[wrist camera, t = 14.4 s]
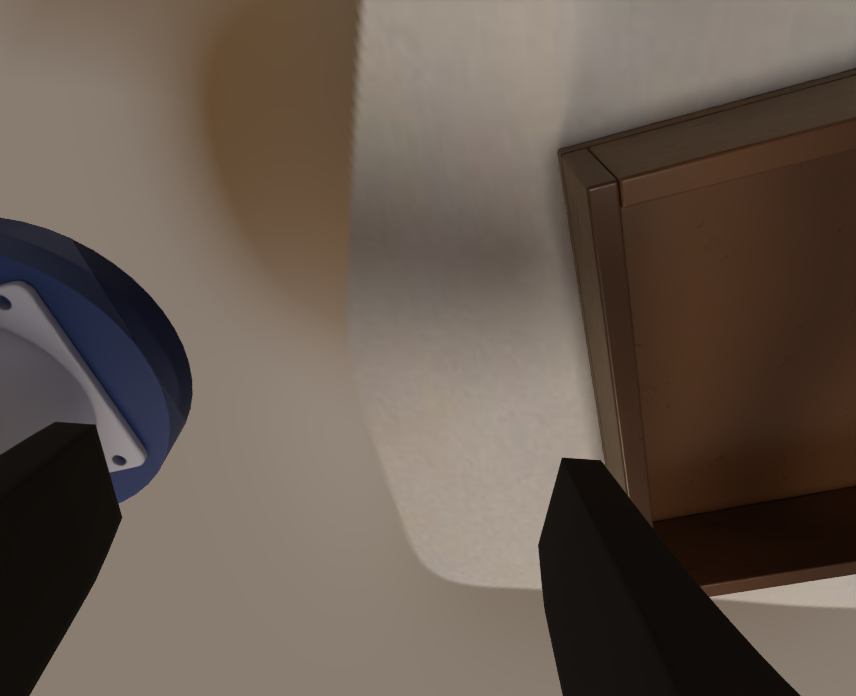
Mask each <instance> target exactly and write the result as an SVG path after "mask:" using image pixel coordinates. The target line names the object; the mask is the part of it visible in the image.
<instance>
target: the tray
mask: <svg viewBox="0 0 856 696" xmlns="http://www.w3.org/2000/svg"><path fill="white" fill-rule="evenodd" d="M558 158H559V164H560V171H561V177H562V184H563V190H564V197H565V204H566V210H567V217H568V223H569V230H570V236H571V243H572V249H573V256H574V262H575V269H576V275H577V282H578V289H579V295H580V302H581V308H582V315H583V321H584V328H585V334H586V341H587V347H588V354H589V360H590V367H591V374H592V380H593V387H594V393H595V400H596V406H597V413H598V419H599V426H600V432H601V439H602V445H603V452H604V459H605V465H606V468H607V469H608V470H609V472H610V473H611V474H612V476H613V477H614V478H615V479H616V481H617V482H618V483H619V485H620V486H621V487H622V489H623V490H624V491H625V493H626V494H627V495H628V497H629V498H630V499H631V500H632V502H633V503H634V504H635V506H636V507H637V508H638V510H639V511H640V512H641V514H642V515H643V516H644V517H645V519H646V520H647V521H648V523H649V524H650V525H651V526H652V528H653V529H654V530H655V532H656V533H657V534H658V535H659V537H660V538H661V539H662V541H663V542H664V543H665V544H666V546H667V547H668V548H669V549H670V551H671V552H672V553H673V554H674V555H675V557H676V558H677V559H678V560H679V562H680V563H681V564H682V565H683V566H684V568H685V569H686V570H687V571H688V572H689V574H690V575H691V576H692V577H693V579H694V580H695V581H696V582H697V583H698V585H699V586H700V587H701V588H702V589H703V591H704V592H705V593H706V594H707V595H708V596H709V597H712V596H718V595H724V594H731V593H737V592H744V591H750V590H757V589H763V588H769V587H776V586H782V585H789V584H795V583H802V582H808V581H814V580H821V579H827V578H834V577H840V576H847V575H853V574H856V69H855V70H851V71H847V72H844V73H840V74H836V75H833V76H829V77H825V78H822V79H818V80H814V81H811V82H807V83H803V84H800V85H796V86H792V87H789V88H785V89H781V90H778V91H774V92H770V93H766V94H763V95H759V96H755V97H752V98H748V99H744V100H741V101H737V102H733V103H730V104H726V105H722V106H719V107H715V108H711V109H708V110H704V111H700V112H697V113H693V114H689V115H686V116H682V117H678V118H675V119H671V120H667V121H663V122H660V123H656V124H652V125H649V126H645V127H641V128H638V129H634V130H630V131H627V132H623V133H619V134H616V135H612V136H608V137H605V138H601V139H597V140H594V141H590V142H586V143H583V144H579V145H575V146H572V147H568V148H564V149H560V150H559V151H558Z"/></svg>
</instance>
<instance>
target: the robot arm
mask: <svg viewBox="0 0 856 696" xmlns="http://www.w3.org/2000/svg"><path fill="white" fill-rule="evenodd" d="M2 296H4V297H6V298H7V299H8V300H9V301H10V302H11V304H9V303H7V302H6V301H5V300H4V299H3V298H2ZM118 455H119V456H118ZM120 456H122V457H123V458H121V457H120ZM147 457H148V452H147V450H146V448H145V447H144V445H143V444H142V442H141V441H140V439H139V438H138V437H137V435H136V434H135V432H134V431H133V429H132V428H131V426H130V425H129V424H128V422H127V421H126V419H125V418H124V416H123V415H122V414H121V412H120V411H119V409H118V408H117V406H116V405H115V403H114V402H113V401H112V399H111V398H110V396H109V395H108V393H107V392H106V391H105V389H104V388H103V386H102V385H101V383H100V382H99V380H98V379H97V378H96V376H95V375H94V373H93V372H92V370H91V369H90V368H89V366H88V365H87V363H86V362H85V360H84V359H83V358H82V356H81V355H80V353H79V352H78V350H77V349H76V347H75V346H74V345H73V343H72V342H71V340H70V339H69V337H68V336H67V335H66V333H65V332H64V330H63V329H62V327H61V326H60V324H59V323H58V322H57V320H56V319H55V317H54V316H53V314H52V313H51V312H50V310H49V309H48V307H47V306H46V304H45V303H44V302H43V300H42V299H41V297H40V296H39V294H38V293H37V291H36V290H35V289H34V288H33V287H32V286H31V285H29V284H27V283H26V282H23V281H11V282H7V283H3V284H0V696H29V695H30V693H31V692H32V690H33V688H34V687H35V685H36V683H37V682H38V680H39V678H40V676H41V675H42V673H43V671H44V670H45V668H46V666H47V664H48V663H49V661H50V659H51V657H52V656H53V654H54V652H55V651H56V649H57V647H58V645H59V644H60V642H61V640H62V639H63V637H64V635H65V634H66V632H67V630H68V628H69V627H70V625H71V623H72V621H73V620H74V618H75V616H76V614H77V613H78V611H79V609H80V607H81V606H82V604H83V602H84V600H85V599H86V597H87V595H88V593H89V591H90V590H91V588H92V586H93V584H94V582H95V581H96V578H97V576H98V574H99V572H100V569H101V567H102V565H103V563H104V560H105V558H106V556H107V554H108V551H109V549H110V546H111V544H112V542H113V539H114V537H115V534H116V532H117V529H118V526H119V524H120V522H121V519H122V515H121V512H120V508H119V505H118V501H117V497H116V494H115V490H114V487H113V483H112V480H111V476H110V472H115V471H119V470H124V469H129V468H133V467H138V466H140V465H142V464H143V463H144V462H145V460H146V458H147ZM538 548H539V559H540V570H541V581H542V590H543V600H544V608H545V614H546V618H547V623H548V628H549V633H550V637H551V642H552V647H553V652H554V657H555V661H556V666H557V670H558V675H559V680H560V684H561V689H562V693H563V696H800V695H799V694H798V693H797V692H796V691H795V690H794V689H793V688H792V687H791V686H790V685H789V684H788V683H787V682H786V681H785V680H784V679H783V678H782V677H781V676H780V675H779V674H778V673H777V671H776V670H775V669H774V668H773V667H772V666H771V665H770V664H769V663H768V662H767V661H766V660H765V659H764V658H763V657H762V656H761V655H760V654H759V653H758V652H757V650H756V649H755V648H754V647H753V646H752V645H751V644H750V643H749V642H748V640H747V639H746V638H745V637H744V636H743V635H742V634H741V633H740V632H739V631H738V629H737V628H736V627H735V626H734V625H733V624H732V623H731V622H730V621H729V619H728V618H727V617H726V616H725V615H724V614H723V613H722V612H721V610H720V609H719V608H718V607H717V606H716V605H715V603H714V602H713V601H712V600H711V599H710V598H709V596H708V595H707V594H706V593H705V592H704V591H703V589H702V588H701V587H700V586H699V585H698V583H697V582H696V581H695V580H694V579H693V577H692V576H691V575H690V574H689V572H688V571H687V570H686V569H685V568H684V566H683V565H682V564H681V563H680V562H679V560H678V559H677V558H676V557H675V555H674V554H673V553H672V552H671V551H670V549H669V548H668V547H667V546H666V544H665V543H664V542H663V541H662V539H661V538H660V537H659V535H658V534H657V533H656V532H655V530H654V529H653V528H652V526H651V525H650V524H649V523H648V521H647V520H646V519H645V517H644V516H643V515H642V514H641V512H640V511H639V510H638V508H637V507H636V506H635V504H634V503H633V502H632V500H631V499H630V498H629V497H628V495H627V494H626V493H625V491H624V490H623V489H622V487H621V486H620V485H619V483H618V482H617V481H616V479H615V478H614V477H613V476H612V474H611V473H610V472H609V470H608V469H607V468H606V467H605V465H604V464H603V463H602V462H601V460H587V459H573V458H562V460H561V464H560V467H559V471H558V475H557V478H556V482H555V486H554V489H553V493H552V497H551V500H550V504H549V508H548V511H547V515H546V519H545V522H544V526H543V530H542V533H541V537H540V541H539V544H538Z"/></svg>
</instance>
